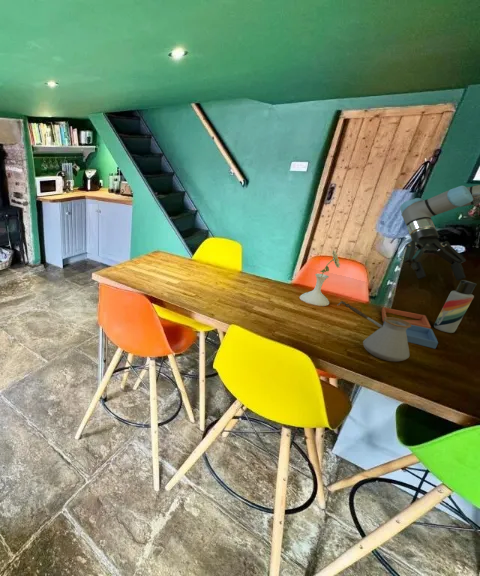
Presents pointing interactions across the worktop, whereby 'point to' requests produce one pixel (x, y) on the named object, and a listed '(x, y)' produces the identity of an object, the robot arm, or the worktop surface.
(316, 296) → the flower in vase
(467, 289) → the lotion bottle
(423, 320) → the terracotta tray
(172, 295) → the worktop surface
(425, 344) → the blue tray
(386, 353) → the coffee pot
